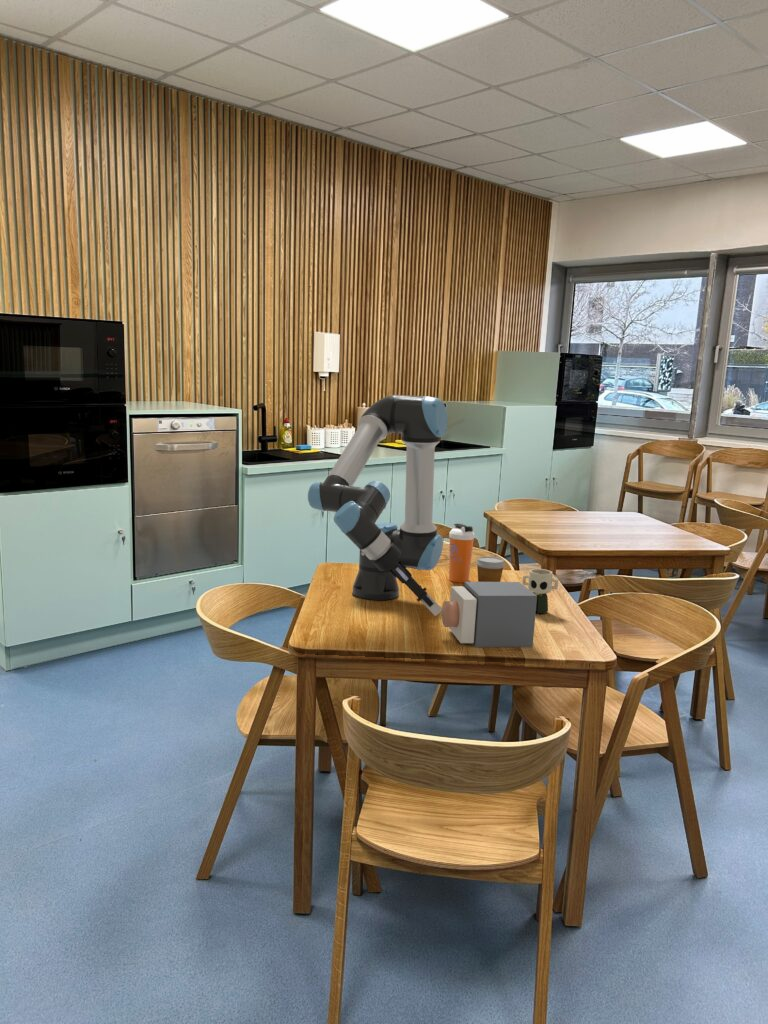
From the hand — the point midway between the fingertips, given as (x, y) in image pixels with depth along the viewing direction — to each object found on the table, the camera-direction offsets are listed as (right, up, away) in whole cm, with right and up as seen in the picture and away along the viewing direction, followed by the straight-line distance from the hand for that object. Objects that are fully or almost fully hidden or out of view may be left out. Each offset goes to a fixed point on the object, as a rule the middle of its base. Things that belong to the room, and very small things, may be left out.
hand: (438, 612), depth 204 cm
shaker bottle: (+12, +2, +65) cm, 66 cm away
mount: (+16, -8, +4) cm, 19 cm away
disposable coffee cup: (+20, -1, +49) cm, 53 cm away
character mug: (+33, -4, +32) cm, 46 cm away
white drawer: (+12, -7, +3) cm, 14 cm away
